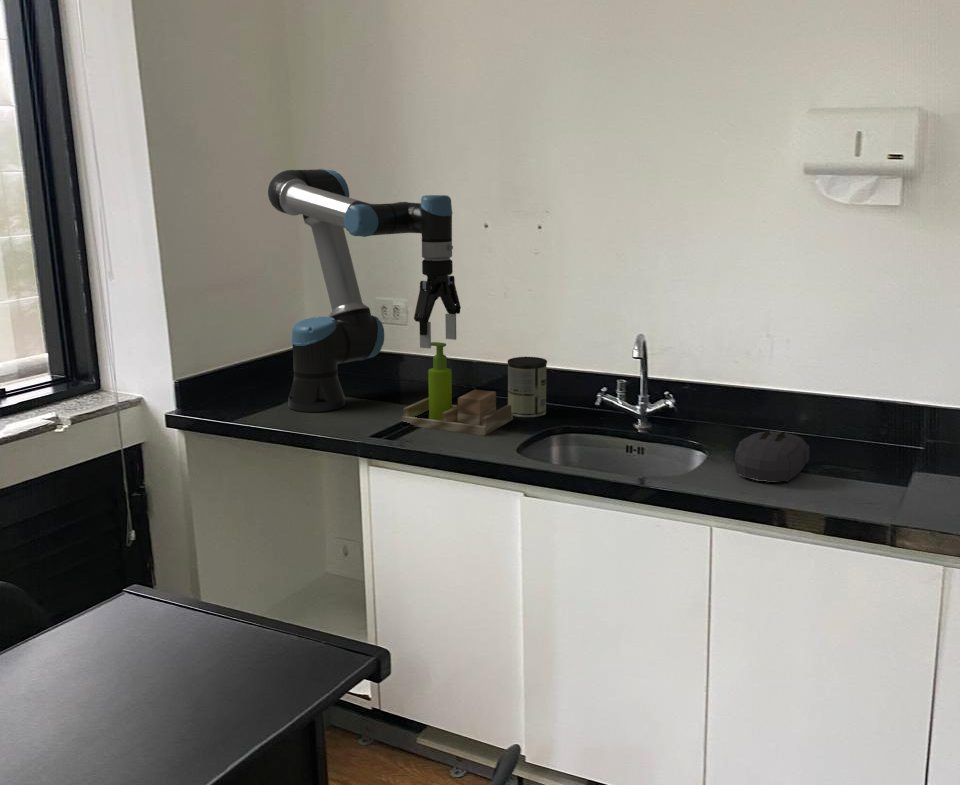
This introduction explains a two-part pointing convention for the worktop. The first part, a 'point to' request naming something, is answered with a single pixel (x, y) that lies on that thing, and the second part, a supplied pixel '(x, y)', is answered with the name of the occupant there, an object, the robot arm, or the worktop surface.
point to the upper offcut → (476, 402)
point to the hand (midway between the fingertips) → (438, 343)
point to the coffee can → (527, 386)
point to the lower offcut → (473, 418)
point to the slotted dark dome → (771, 456)
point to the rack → (455, 419)
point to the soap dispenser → (439, 384)
